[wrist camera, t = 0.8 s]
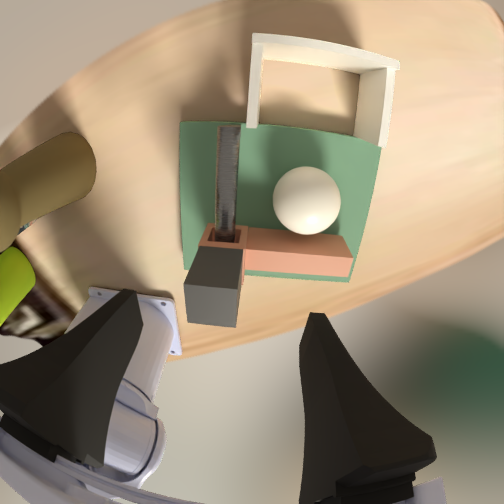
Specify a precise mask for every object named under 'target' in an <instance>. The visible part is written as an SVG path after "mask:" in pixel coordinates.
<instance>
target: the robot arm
mask: <svg viewBox="0 0 504 504" xmlns="http://www.w3.org/2000/svg"><path fill="white" fill-rule="evenodd" d="M88 292H89V295H90V297H89V298H88V300H87V301H86V302H85V304H84V305H83V307H82V308H81V310H80V311H79V312H78V314H77V315H76V317H75V318H74V320H73V321H72V323H71V324H70V326H69V327H68V329H67V330H66V332H65V334H64V335H63V336H61V337H59V338H58V339H56V340H54V341H53V342H51V343H49V344H48V345H46V346H44V347H42V348H40V349H38V350H36V351H34V352H32V353H30V354H28V355H26V356H23V357H21V358H18V359H16V360H13V361H10V362H7V363H3V364H0V410H1V411H2V412H3V413H4V415H3V416H2V417H1V416H0V477H1V478H2V479H3V480H4V481H5V482H6V483H7V484H8V485H9V486H10V487H12V488H13V489H14V490H15V491H16V492H17V493H18V494H19V495H21V496H22V497H23V498H24V499H25V500H26V501H28V502H29V503H30V504H121V503H119V502H116V501H113V500H111V499H116V498H123V499H125V500H128V501H131V502H134V503H138V504H203V503H197V502H191V501H185V500H181V499H176V498H172V497H167V496H163V495H159V494H156V493H152V492H148V491H145V490H141V489H140V487H141V485H142V484H143V483H144V481H145V480H146V479H147V478H148V477H149V476H150V475H151V474H152V473H153V472H154V471H155V470H156V469H157V467H158V466H159V464H160V462H161V460H162V457H163V455H164V451H165V447H166V432H165V429H164V425H163V422H162V421H161V420H160V419H158V418H156V416H157V413H158V409H159V408H158V407H157V406H155V405H153V402H154V398H155V394H156V392H157V388H158V385H159V382H160V379H161V376H162V372H163V369H164V366H165V363H166V360H167V357H168V354H173V355H181V354H182V346H181V340H180V334H179V328H178V322H177V315H176V309H175V302H174V301H173V300H172V299H170V298H164V297H157V296H149V295H142V294H137V293H136V291H134V290H129V289H123V290H121V291H115V290H109V289H103V288H97V287H90V288H89V289H88ZM163 302H165V303H163ZM299 346H300V347H299V367H300V376H301V385H302V393H303V402H304V412H305V443H304V461H303V474H302V482H301V491H300V497H299V504H446V497H445V491H444V485H443V479H442V477H438V478H435V479H433V480H430V481H427V482H424V483H421V484H419V485H416V486H413V485H412V481H414V480H415V479H416V477H415V472H417V471H418V470H420V469H422V468H424V467H426V466H428V465H429V464H431V463H432V462H434V461H435V459H436V458H437V456H436V452H435V447H434V443H433V440H432V437H431V436H429V435H428V434H426V433H425V432H423V431H422V430H421V429H419V428H418V427H416V426H415V425H413V424H412V423H411V422H410V421H408V420H407V419H406V418H405V417H404V416H402V415H401V414H400V413H399V412H398V411H397V410H396V409H394V408H393V407H392V406H391V405H390V404H389V403H388V402H387V401H386V400H385V399H384V398H383V397H382V396H381V395H380V393H379V392H378V391H377V390H376V389H375V388H374V387H373V386H372V384H371V383H370V382H369V381H368V380H367V378H366V377H365V376H364V374H363V373H362V372H361V371H360V369H359V368H358V366H357V365H356V364H355V362H354V360H353V359H352V358H351V356H350V355H349V353H348V352H347V350H346V348H345V347H344V345H343V344H342V342H341V341H340V339H339V337H338V335H337V334H336V332H335V330H334V329H333V327H332V325H331V323H330V322H329V320H328V318H327V316H326V315H325V313H312V312H310V314H309V317H308V320H307V323H306V327H305V330H304V333H303V336H302V339H301V342H300V345H299Z"/></svg>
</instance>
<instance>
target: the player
mask: <svg viewBox="0 0 504 504" xmlns="http://www.w3.org/2000/svg"><path fill="white" fill-rule="evenodd" d="M352 262H353V256H352V254H351V252H350V250H349V248H348V246H347V244H346V242H345V240H344V238H343V236H341V235H331V234H321V233H316V234H309V235H307V234H299V233H296V232H293V231H289V230H278V229H266V228H254V227H249V230H248V226H243V225H236V227H235V243H227V242H215V223H208V224H207V226H206V228H205V231H204V233H203V235H202V237H201V240H200V242H199V244H198V251H197V253H196V255H195V258H194V260H193V262H192V265H191V267H190V270H189V272H188V274H187V277H186V279H185V282H184V294H185V304H186V313H187V321H188V323H196V324H205V325H214V326H223V327H234V328H236V322H237V314H238V306H239V299H240V291H241V285H243V281H244V273H245V269H246V270H258V271H270V272H283V273H296V274H310V275H324V276H338V277H348V275H349V272H350V269H351V265H352Z"/></svg>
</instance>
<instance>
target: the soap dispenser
mask: <svg viewBox="0 0 504 504" xmlns="http://www.w3.org/2000/svg"><path fill="white" fill-rule="evenodd" d="M35 281H36V279H35V273H34V270H33V268H32V266H31V264H30V262H29V260H28V259H27V258H26V256H25V255H24V254H23V253H22V252H21V251H20V250H18V249H17V248H15V247H9V248H8V249H6V250H5V251H4V252H3V253H2V254H1V255H0V326H1V325H2V323H3V322H4V321H5V320H6V318H7V317H8V316H9V315H10V313H11V312H12V311H13V310H14V308H15V307H16V306H17V305H18V304H19V302H20V301H21V300H22V299H23V298H24V297H25V295H26V294H27V293H28V292H29V291H30V290H31V289H32V287H33V286H34V285H35Z"/></svg>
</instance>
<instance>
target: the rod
mask: <svg viewBox="0 0 504 504" xmlns="http://www.w3.org/2000/svg"><path fill="white" fill-rule="evenodd" d="M240 138H241V125H231V124H228V125H221V126H218V127H217V151H216V184H215V242H227V243H235V227H236V206H237V186H238V168H239V151H240Z"/></svg>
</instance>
